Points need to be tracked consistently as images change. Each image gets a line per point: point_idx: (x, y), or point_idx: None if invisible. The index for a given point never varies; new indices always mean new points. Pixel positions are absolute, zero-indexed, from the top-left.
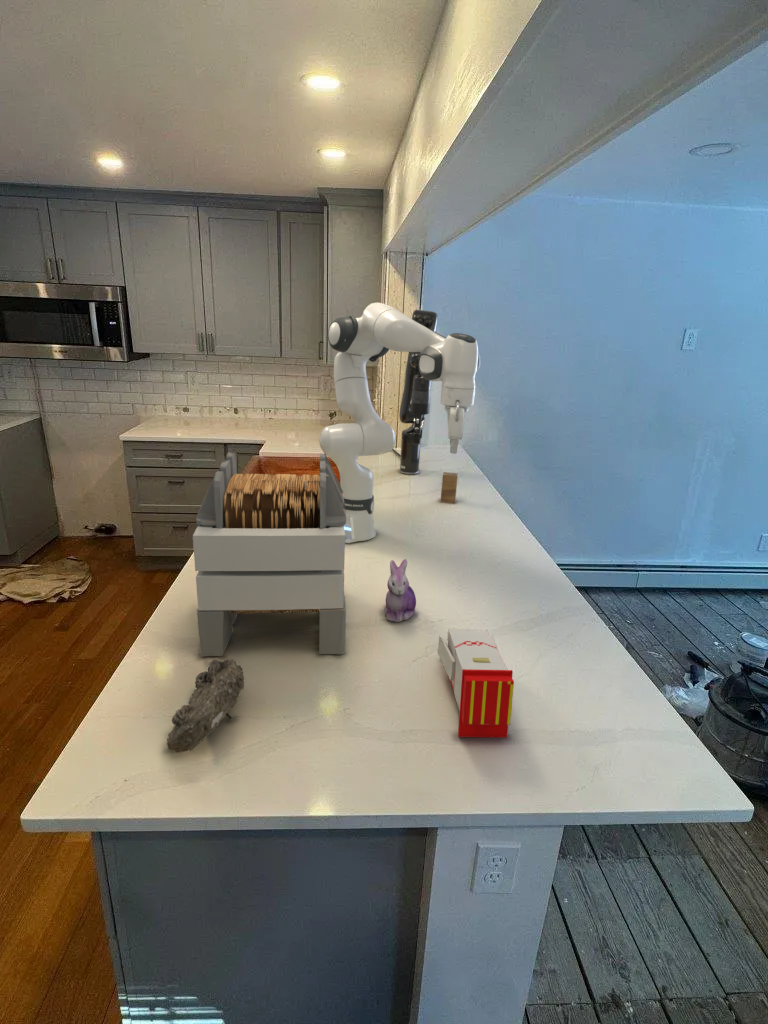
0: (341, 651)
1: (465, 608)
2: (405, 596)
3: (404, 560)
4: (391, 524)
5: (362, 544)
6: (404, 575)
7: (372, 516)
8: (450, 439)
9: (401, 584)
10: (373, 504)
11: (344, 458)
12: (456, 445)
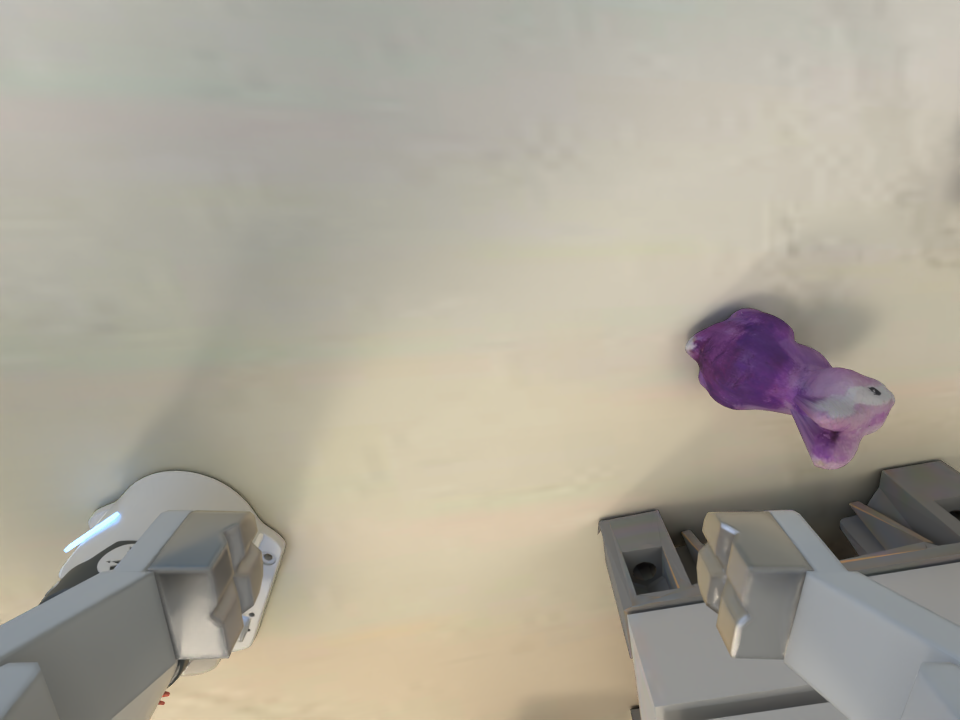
0: (954, 469)
1: (705, 137)
2: (823, 362)
3: (839, 425)
4: (39, 427)
5: (272, 499)
6: (861, 401)
7: (144, 528)
8: (229, 650)
9: (890, 400)
10: (113, 562)
11: None
12: (895, 612)
